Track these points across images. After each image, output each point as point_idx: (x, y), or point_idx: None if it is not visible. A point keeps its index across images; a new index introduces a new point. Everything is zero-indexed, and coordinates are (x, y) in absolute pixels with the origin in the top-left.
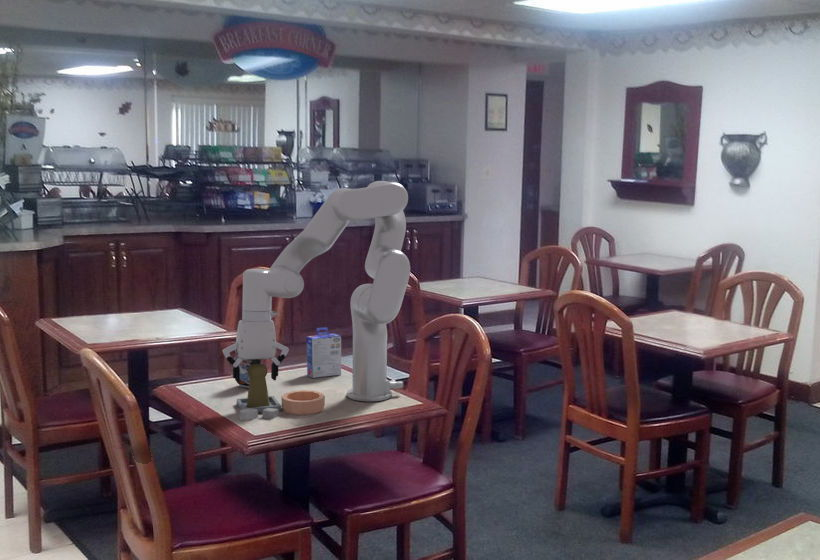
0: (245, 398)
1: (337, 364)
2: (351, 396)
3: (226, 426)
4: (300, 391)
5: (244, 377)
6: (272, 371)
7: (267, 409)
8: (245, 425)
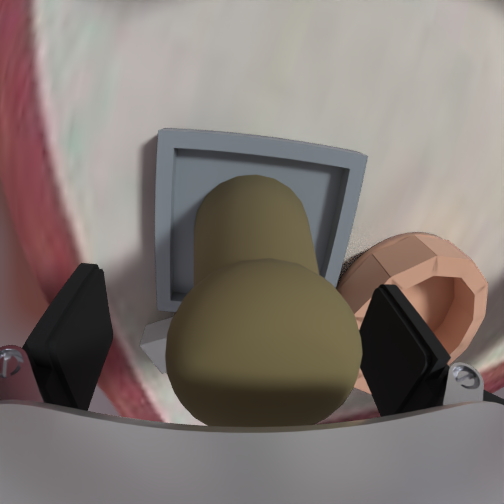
0: (207, 139)
1: None
2: None
3: (103, 371)
4: (454, 272)
5: None
6: (383, 359)
7: None
8: (157, 385)
